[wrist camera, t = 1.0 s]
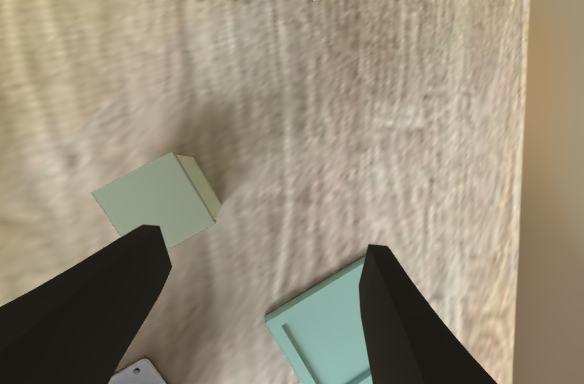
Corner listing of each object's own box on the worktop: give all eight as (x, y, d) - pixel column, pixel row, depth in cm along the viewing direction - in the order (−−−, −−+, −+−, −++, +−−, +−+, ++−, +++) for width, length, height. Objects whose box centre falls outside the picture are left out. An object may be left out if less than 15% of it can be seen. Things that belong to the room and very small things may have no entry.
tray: (320, 408, 25) (323, 417, 24) (264, 316, 23) (265, 323, 22) (415, 344, 27) (422, 351, 26) (370, 252, 25) (375, 256, 24)
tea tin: (171, 233, 21) (140, 264, 15) (139, 183, 21) (90, 192, 14) (223, 205, 22) (215, 223, 15) (193, 155, 21) (171, 151, 15)
